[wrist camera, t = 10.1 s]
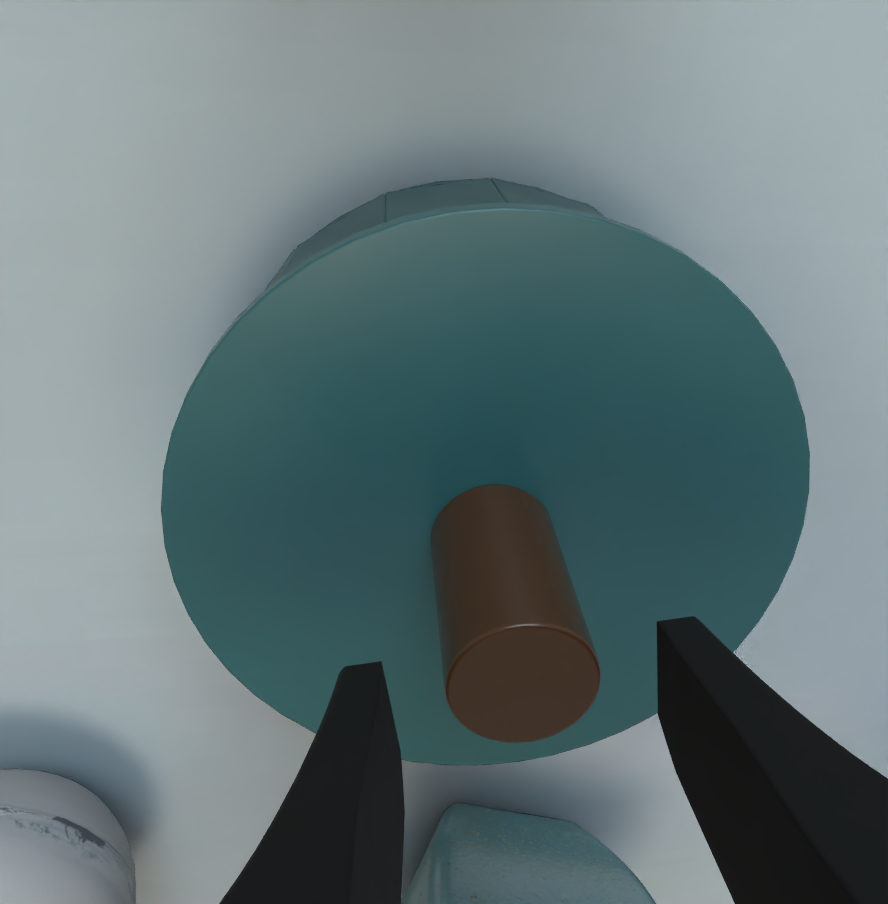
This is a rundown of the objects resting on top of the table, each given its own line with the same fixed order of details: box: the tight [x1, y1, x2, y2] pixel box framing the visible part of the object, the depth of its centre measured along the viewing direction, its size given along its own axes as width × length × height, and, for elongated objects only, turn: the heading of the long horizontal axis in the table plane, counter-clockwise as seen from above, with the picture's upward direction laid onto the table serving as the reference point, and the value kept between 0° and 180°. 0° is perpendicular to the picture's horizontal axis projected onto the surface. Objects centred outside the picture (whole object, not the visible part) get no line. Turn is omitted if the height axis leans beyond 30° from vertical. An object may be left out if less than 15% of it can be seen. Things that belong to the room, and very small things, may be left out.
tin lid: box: [161, 202, 810, 765], centre depth 16 cm, size 14×14×6 cm
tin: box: [265, 178, 606, 290], centre depth 21 cm, size 13×13×5 cm
